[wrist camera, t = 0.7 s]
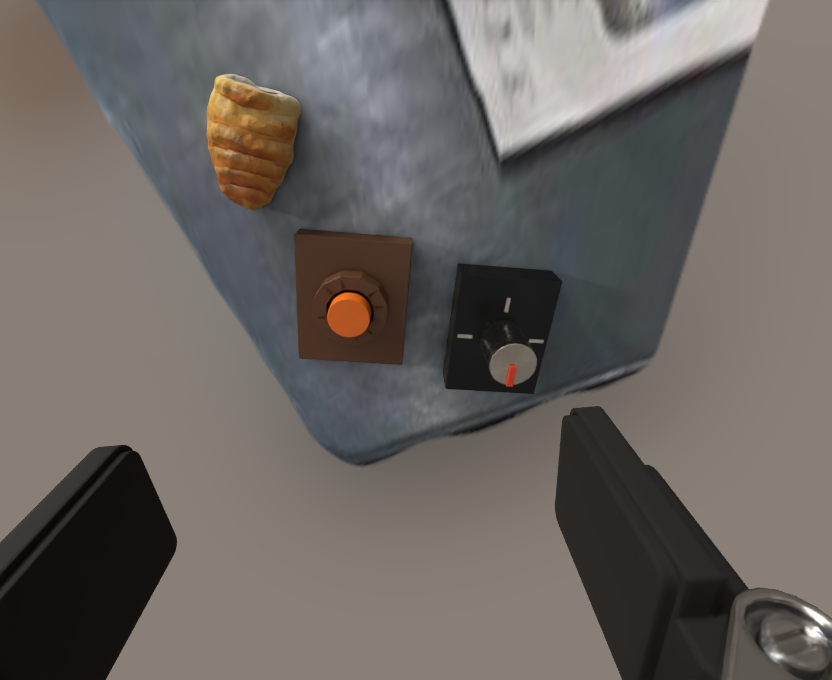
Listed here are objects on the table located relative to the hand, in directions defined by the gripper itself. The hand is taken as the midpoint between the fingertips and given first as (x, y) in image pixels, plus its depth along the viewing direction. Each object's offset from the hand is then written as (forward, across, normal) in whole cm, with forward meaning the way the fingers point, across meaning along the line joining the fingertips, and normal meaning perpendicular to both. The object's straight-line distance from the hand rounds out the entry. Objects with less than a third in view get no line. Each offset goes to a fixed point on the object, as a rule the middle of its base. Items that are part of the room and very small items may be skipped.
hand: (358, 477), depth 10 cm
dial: (+29, -9, +11) cm, 32 cm away
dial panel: (+32, -9, +11) cm, 35 cm away
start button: (+28, +4, +7) cm, 29 cm away
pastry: (+32, +10, -8) cm, 34 cm away
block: (+32, +4, +6) cm, 33 cm away
